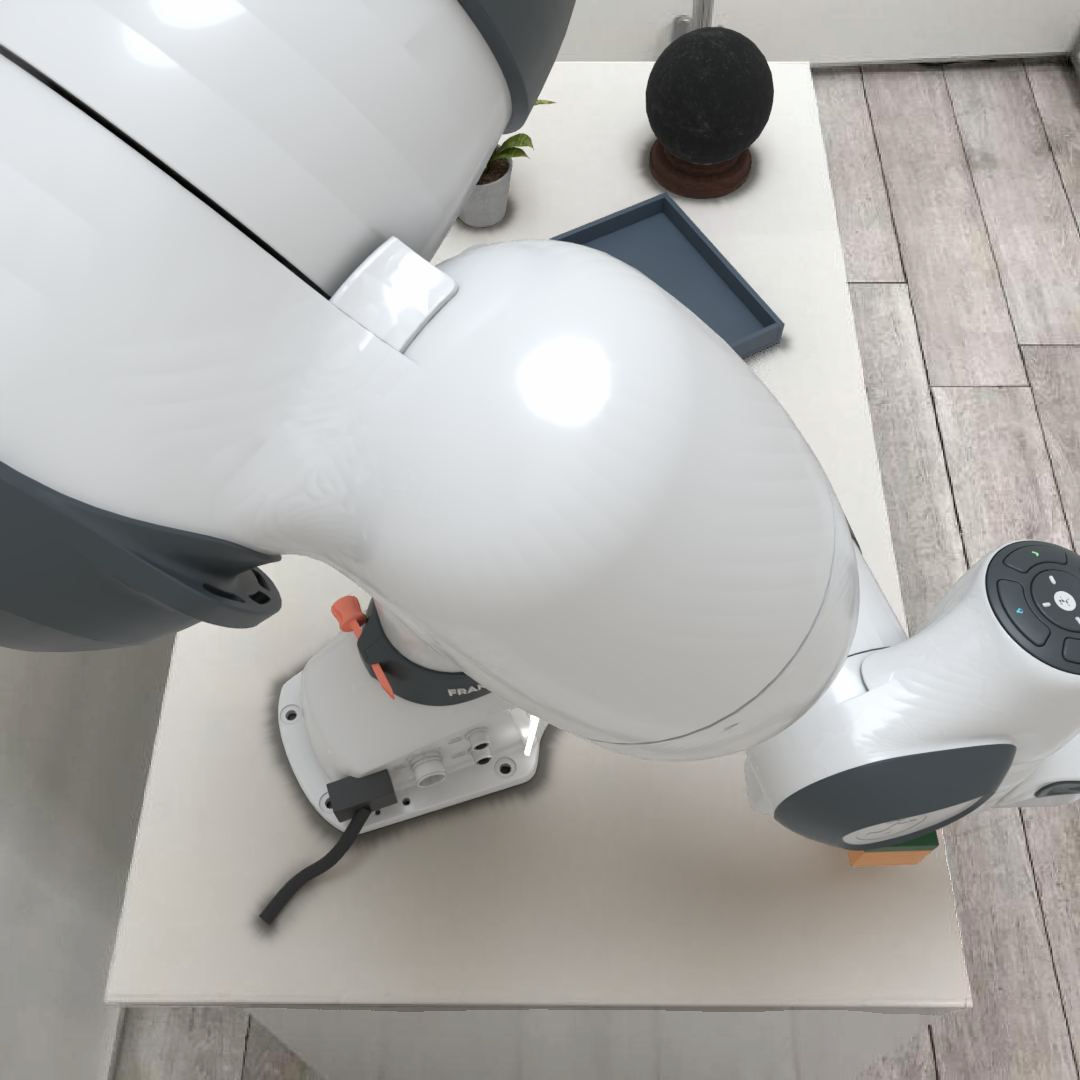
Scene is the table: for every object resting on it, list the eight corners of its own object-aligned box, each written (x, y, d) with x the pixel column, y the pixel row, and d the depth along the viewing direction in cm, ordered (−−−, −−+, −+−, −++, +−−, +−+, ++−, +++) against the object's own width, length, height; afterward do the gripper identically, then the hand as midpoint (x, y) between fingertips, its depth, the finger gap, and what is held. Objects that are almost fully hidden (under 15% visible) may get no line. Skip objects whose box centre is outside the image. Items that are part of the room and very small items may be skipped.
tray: (647, 402, 100) (649, 384, 98) (539, 261, 110) (539, 242, 108) (780, 342, 104) (784, 323, 102) (664, 211, 114) (666, 191, 112)
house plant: (568, 170, 117) (569, 33, 103) (551, 259, 110) (550, 125, 96) (440, 159, 119) (425, 22, 105) (416, 247, 111) (395, 113, 97)
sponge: (917, 864, 72) (939, 845, 68) (850, 867, 72) (869, 847, 67) (895, 764, 75) (916, 740, 71) (832, 766, 75) (849, 742, 71)
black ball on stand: (633, 127, 121) (643, 2, 108) (749, 122, 121) (772, -4, 108) (646, 208, 114) (658, 84, 101) (769, 201, 114) (796, 77, 101)
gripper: (771, 792, 58) (733, 859, 70) (1142, 781, 59) (1041, 850, 70) (756, 686, 62) (722, 766, 73) (1107, 676, 62) (1016, 758, 74)
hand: (881, 807), depth 72 cm, fingers closed on sponge, 4 cm apart
